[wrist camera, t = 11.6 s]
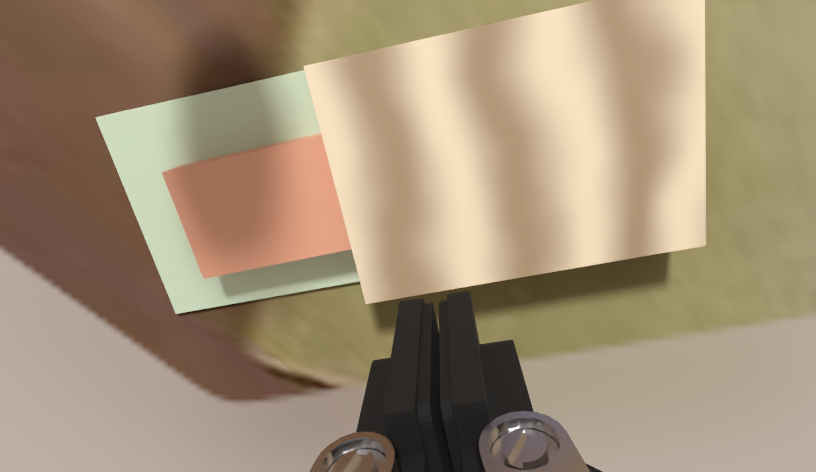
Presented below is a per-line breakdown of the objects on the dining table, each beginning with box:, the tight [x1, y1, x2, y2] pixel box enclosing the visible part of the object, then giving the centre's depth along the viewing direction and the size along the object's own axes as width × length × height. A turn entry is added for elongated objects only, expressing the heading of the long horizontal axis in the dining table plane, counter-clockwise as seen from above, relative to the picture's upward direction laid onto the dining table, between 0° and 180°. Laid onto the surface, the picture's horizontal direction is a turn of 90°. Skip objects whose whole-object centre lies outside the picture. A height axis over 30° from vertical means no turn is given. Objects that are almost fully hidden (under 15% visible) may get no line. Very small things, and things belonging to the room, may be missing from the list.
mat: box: [95, 70, 360, 314], centre depth 31 cm, size 14×14×1 cm
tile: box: [162, 133, 351, 279], centre depth 30 cm, size 10×7×2 cm
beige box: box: [304, 0, 706, 304], centre depth 28 cm, size 20×14×4 cm
